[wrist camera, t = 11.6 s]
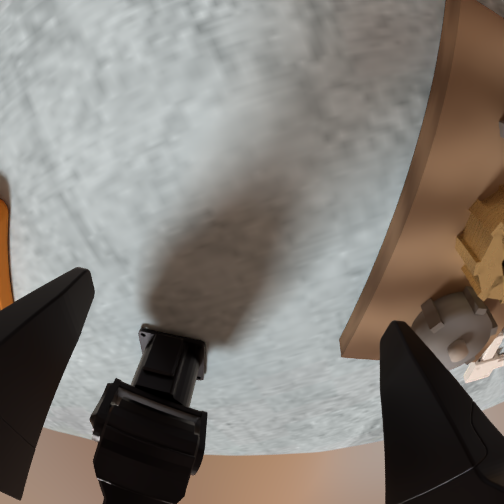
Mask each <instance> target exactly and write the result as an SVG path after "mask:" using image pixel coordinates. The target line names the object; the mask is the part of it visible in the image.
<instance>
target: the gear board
mask: <svg viewBox="0 0 504 504" xmlns="http://www.w3.org/2000/svg"><path fill="white" fill-rule="evenodd" d="M501 184H504V18H502V17H501V16H499V15H498V14H496V13H495V12H493V11H492V10H490V9H489V8H487V7H486V6H484V5H482V4H481V3H479V2H477V1H476V0H446V3H445V11H444V19H443V27H442V33H441V40H440V46H439V52H438V57H437V62H436V68H435V73H434V77H433V82H432V87H431V91H430V96H429V100H428V104H427V108H426V112H425V116H424V120H423V124H422V127H421V131H420V135H419V138H418V142H417V145H416V149H415V152H414V155H413V159H412V162H411V165H410V168H409V171H408V175H407V178H406V181H405V184H404V187H403V190H402V193H401V196H400V198H399V201H398V204H397V207H396V210H395V212H394V215H393V218H392V221H391V223H390V226H389V229H388V231H387V234H386V236H385V239H384V241H383V244H382V246H381V249H380V251H379V254H378V256H377V259H376V261H375V263H374V266H373V268H372V271H371V273H370V275H369V278H368V280H367V282H366V284H365V287H364V289H363V291H362V293H361V295H360V298H359V300H358V302H357V304H356V306H355V308H354V311H353V313H352V315H351V317H350V319H349V321H348V323H347V325H346V327H345V329H344V331H343V333H342V335H341V337H340V339H339V342H340V350H341V357H344V358H356V359H370V360H380V340H381V337H382V336H383V334H384V332H385V331H386V329H387V327H388V326H389V324H390V322H391V321H393V320H398V321H405V322H406V323H407V324H408V325H409V326H410V327H411V328H412V330H413V331H414V332H415V333H416V334H417V335H418V336H419V337H420V338H421V340H422V341H423V342H424V343H425V344H426V345H427V346H428V347H429V349H430V350H431V351H432V352H433V353H434V354H435V355H436V357H437V358H438V359H439V360H440V361H441V362H442V364H443V365H444V366H445V367H446V368H447V369H448V370H451V369H454V368H456V367H458V366H460V365H462V364H464V363H466V364H467V365H468V364H469V363H471V362H476V361H477V360H478V359H479V358H480V357H481V355H482V354H483V353H484V352H485V351H486V349H487V348H488V347H489V346H490V345H491V343H492V342H493V341H494V339H495V338H496V337H497V336H498V334H499V333H500V332H501V330H502V329H503V328H504V303H502V304H501V303H500V302H499V300H498V299H491V298H487V299H486V300H485V301H484V302H483V301H482V300H481V299H480V298H479V297H478V296H477V294H476V292H475V291H474V289H473V287H472V286H471V284H470V282H469V281H468V279H467V278H466V276H465V274H464V273H463V271H462V270H461V268H462V267H463V266H464V262H463V259H462V258H461V257H460V255H459V254H458V252H457V251H456V249H455V245H456V237H457V236H461V234H462V232H463V230H464V228H465V226H466V223H467V221H468V219H469V217H470V214H471V212H470V211H469V210H468V209H469V208H470V207H471V206H472V205H473V203H474V202H475V201H476V200H477V199H478V200H480V201H482V200H484V199H486V198H487V197H489V196H490V195H492V194H493V193H495V192H497V191H498V190H499V185H501Z"/></svg>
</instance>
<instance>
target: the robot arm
mask: <svg viewBox="0 0 504 504" xmlns="http://www.w3.org/2000/svg"><path fill="white" fill-rule="evenodd" d="M94 294H95V290H94V285H93V281H92V277H91V273H90V271H89V270H88V269H85V268H81V267H76V268H74V269H72V270H70V271H69V272H67V273H65V274H63V275H61V276H59V277H58V278H56V279H54V280H52V281H50V282H49V283H47V284H45V285H43V286H41V287H40V288H38V289H36V290H34V291H33V292H31V293H29V294H27V295H26V296H24V297H22V298H21V299H19V300H17V301H15V302H14V303H12V304H10V305H9V306H7V307H5V308H4V309H2V310H0V491H1V492H3V493H5V494H7V495H9V496H11V497H13V498H15V499H18V500H21V498H22V495H23V491H24V487H25V483H26V479H27V476H28V472H29V469H30V465H31V462H32V458H33V455H34V452H35V448H36V445H37V442H38V439H39V436H40V433H41V430H42V428H43V425H44V422H45V419H46V416H47V414H48V411H49V408H50V406H51V403H52V400H53V398H54V395H55V393H56V390H57V388H58V385H59V383H60V380H61V378H62V376H63V373H64V371H65V369H66V366H67V364H68V362H69V359H70V357H71V355H72V353H73V350H74V348H75V346H76V344H77V341H78V339H79V337H80V334H81V331H82V328H83V326H84V323H85V320H86V317H87V314H88V312H89V309H90V306H91V304H92V301H93V298H94ZM138 334H139V339H140V344H141V349H142V354H143V355H142V358H141V360H140V363H139V365H138V368H137V370H136V373H135V375H134V378H133V380H132V383H131V385H129V384H126V383H124V382H122V381H121V380H120V379H117V378H116V379H115V381H114V383H108V384H107V386H106V388H105V391H104V393H103V395H102V397H101V399H100V401H99V403H98V404H97V406H96V408H95V409H94V411H93V413H92V414H91V417H90V422H91V424H92V426H93V429H92V432H93V435H92V440H94V441H96V442H98V446H97V449H96V452H95V455H94V459H93V464H94V469H95V473H96V477H97V479H98V481H99V484H100V487H101V490H102V493H103V496H104V501H103V504H177V503H178V502H179V501H180V500H181V499H182V498H183V497H184V496H185V492H186V488H187V485H188V481H189V478H190V475H195V474H196V472H197V471H198V469H199V467H200V465H201V462H202V459H203V455H204V450H205V439H206V426H207V412H205V411H198V410H195V409H192V408H189V407H190V403H191V398H192V394H193V390H194V386H195V382H196V380H203V379H204V366H205V343H204V342H202V341H199V340H194V339H189V338H184V337H179V336H175V335H170V334H165V333H161V332H156V331H152V330H148V329H143V328H142V329H140V330H139V333H138ZM380 395H381V406H382V418H383V432H384V451H385V491H386V492H385V504H504V436H503V435H502V434H501V433H500V432H499V431H498V430H497V428H496V427H495V426H494V425H493V424H492V423H491V422H490V421H489V419H488V418H487V417H486V416H485V414H484V413H483V412H482V411H481V410H480V408H479V407H478V406H477V404H476V403H475V402H474V401H473V400H472V398H471V397H470V396H469V395H468V393H467V392H466V391H465V390H464V389H463V387H462V386H461V385H460V384H459V382H458V381H457V380H456V379H455V378H454V377H453V375H452V374H451V373H450V372H449V371H448V369H447V368H446V367H445V366H444V365H443V364H442V362H441V361H440V360H439V359H438V358H437V357H436V355H435V354H434V353H433V352H432V351H431V350H430V349H429V347H428V346H427V345H426V344H425V343H424V342H423V341H422V340H421V338H420V337H419V336H418V335H417V334H416V333H415V332H414V331H413V330H412V328H411V327H410V326H409V325H408V324H407V323H406V322H405V321H398V320H393V321H391V322H390V324H389V326H388V327H387V329H386V331H385V332H384V334H383V336H382V337H381V340H380ZM117 405H118V406H117Z"/></svg>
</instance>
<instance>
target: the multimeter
mask: <svg viewBox="0 0 504 504" xmlns="http://www.w3.org/2000/svg"><path fill="white" fill-rule="evenodd" d="M8 216H9V212H8V208H7V205H6V204H5V202H3V201H2V200H1V199H0V310H2V309H4V308H5V307H7V306H9V305H10V304H12V303H13V298H12V292H11V285H10V277H9V265H8V243H7V242H8Z"/></svg>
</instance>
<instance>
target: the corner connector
mask: <svg viewBox="0 0 504 504" xmlns="http://www.w3.org/2000/svg"><path fill="white" fill-rule="evenodd" d="M503 338H504V335H503V333H502V331H501V332H500V333H499V334H498V336H497V337H496V338H495V339H494V341H493V342H492V343H491V345H490V346H489V347H488V348H487V349H486V351H485V352H484V353H483V354H482V355H481V357H480V358H479V359H478V360H477V361H476V362H471V363H470V365H469V367H468V369H467V370H466V372H465V374H464V376H463V377H464V380H465V383H468V382H472V381H475V380H479V379H482V378H485V377H489V375H490V373H491V372H492V370H493V369H495V368H498V367H501V366H504V354H502V355H499V356H498V355H497V352H496V351H497V349H498V347H499V345H500V343H501V341H502V340H503ZM478 361H480V362H478Z"/></svg>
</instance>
